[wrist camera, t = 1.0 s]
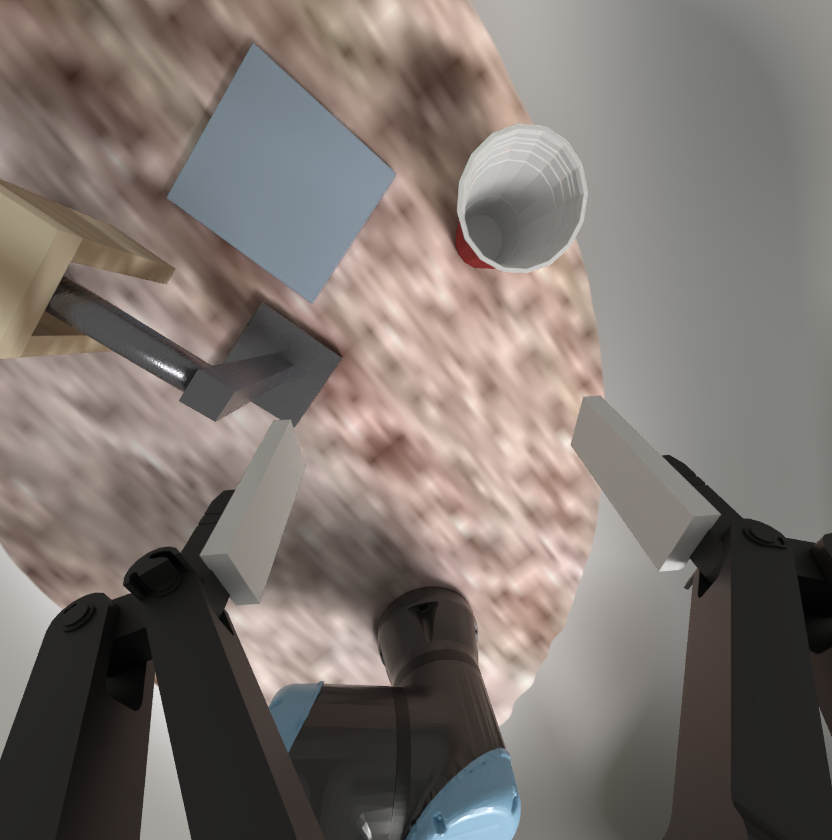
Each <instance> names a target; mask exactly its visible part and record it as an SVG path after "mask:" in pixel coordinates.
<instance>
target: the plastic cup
mask: <svg viewBox="0 0 832 840" xmlns="http://www.w3.org/2000/svg"><path fill="white" fill-rule="evenodd" d="M587 195H588V191H587V186H586V180H585V175H584V170H583V164H582V163H581V161H580V160H579V158H578V157H577V155H576V153H575V152H574V150H573V149H572V147H571V145H570V144H569V142H568V141H567V140H566V139H564V138H563V137H561V136H559V135H558V134H556V133H555V132H553V131H552V130H550V129H549V128H547V127H546V126H540V125H530V124H520V123H518V124H515V125H512V126H510V127H507V128H504V129H502V130H499V131H497V132H494V133H492V134H491V135H490V136H489V137H488V138H487V139H486V140H485V141H484V142H483V143H482V144H481V145H480V146H479V147H478V148H477V149H476V150H475V151H474V152H473V153H472V154H471V156H470V158H469V160H468V162H467V165H466V167H465V169H464V171H463V174H462V176H461V178H460V180H459V189H458V203H457V214H458V217H459V221H458V228H457V231H456V246H457V250H458V254H459V255H460V257H461V258H462V259H463V261H464V262H465V263H467V264H469V265H470V266H472V267H474V268H489V269H498V270H500V271H502V272H513V273H529V272H532V271H535V270H538V269H540V268H543V267H546V266H548V265H551V264H552V263H553V262H554V261H555V260H556V259H557V258H558V257H560V256H561V255H562V254H563V253H564V252H565V251H566V250H567V249H568V248H569V247H570V246H571V244H572V243H573V241H574V239H575V237H576V235H577V233H578V231H579V229H580V227H581V225H582V223H583V221H584V215H585V209H586V202H587Z"/></svg>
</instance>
